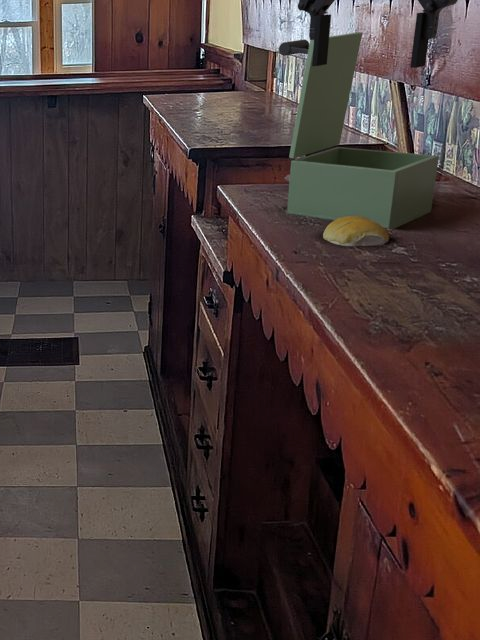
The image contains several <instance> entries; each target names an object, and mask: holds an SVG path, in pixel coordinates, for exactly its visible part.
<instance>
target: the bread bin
mask: <svg viewBox="0 0 480 640" xmlns="http://www.w3.org/2000/svg"><path fill="white" fill-rule="evenodd" d="M439 159H440V155H433V154H422V153H410V152H398V151H389V150H378V149H374V150H373V149H364V148H355V147H345V146H344V147H343V146H342V147H341V146H334V147H331V148H328V149H325V150H321V151H318V152H315V153H312V154H308V155H307V156H306V155H305V157H303V158H300V159H296V158H295V159H294V160H293V159H292V160H291V161H290V171H289V175H290V182H289V181H288V195H287V208H286V209H287V210H286V214H291V215H297V216H303V217H310V218H318V219H325V220H331V221H334V220H337V219H339V218H342V217H346V216H359V217H364V218H367V219H369V220H370V221H374V222H376V223H378V224H379V225H381V226H382V227H383V228H384V229H389V230H394V229H397V228H399V227H401V226H403V225H406V224H408V223H410V222H412V221H414V220H416V219H419V218H421V217H423V216H425V215H428V214H430V213H431V212H432V206H433V199H434V195H435V188H436V187H435V186H436V179H437V172H438V165H439Z"/></svg>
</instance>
